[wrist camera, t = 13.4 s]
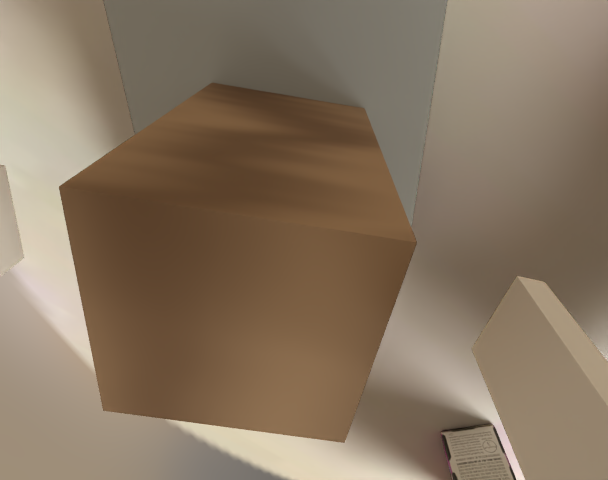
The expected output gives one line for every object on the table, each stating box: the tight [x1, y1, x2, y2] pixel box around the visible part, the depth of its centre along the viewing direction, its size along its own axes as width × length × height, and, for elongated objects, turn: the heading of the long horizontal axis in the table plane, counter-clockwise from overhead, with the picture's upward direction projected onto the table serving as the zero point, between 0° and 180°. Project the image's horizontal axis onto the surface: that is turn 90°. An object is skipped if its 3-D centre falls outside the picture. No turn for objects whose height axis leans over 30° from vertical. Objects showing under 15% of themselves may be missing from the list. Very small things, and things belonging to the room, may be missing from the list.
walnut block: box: [59, 83, 417, 443], centre depth 12 cm, size 6×6×10 cm
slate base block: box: [103, 0, 447, 228], centre depth 19 cm, size 12×12×6 cm
